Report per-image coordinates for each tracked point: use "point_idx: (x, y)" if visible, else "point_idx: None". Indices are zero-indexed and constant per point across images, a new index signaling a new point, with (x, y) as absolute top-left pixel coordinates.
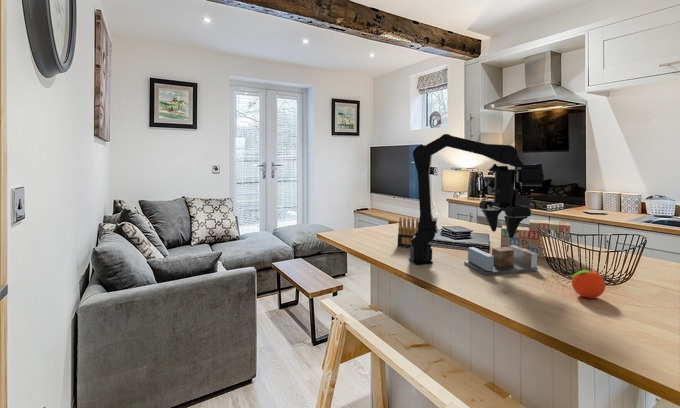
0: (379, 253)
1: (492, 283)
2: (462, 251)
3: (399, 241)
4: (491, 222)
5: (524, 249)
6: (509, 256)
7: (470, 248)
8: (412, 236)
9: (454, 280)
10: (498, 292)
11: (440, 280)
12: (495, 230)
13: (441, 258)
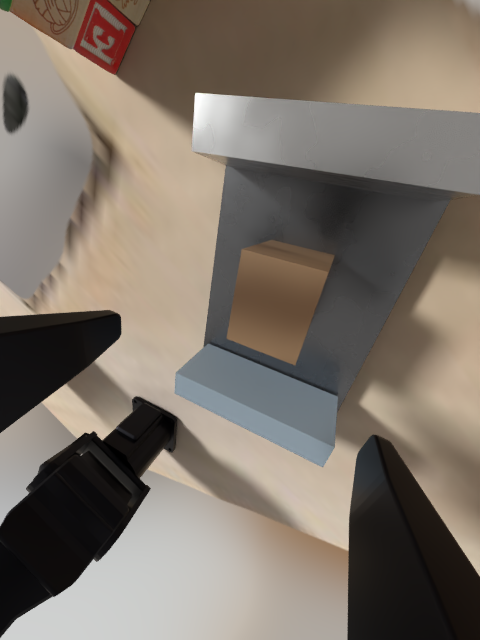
0: (91, 428)
1: None
2: (91, 248)
3: None
4: (30, 393)
5: (337, 126)
6: (321, 292)
7: (188, 399)
8: None
9: (308, 492)
10: (475, 521)
11: (289, 506)
12: (114, 320)
13: (144, 365)
